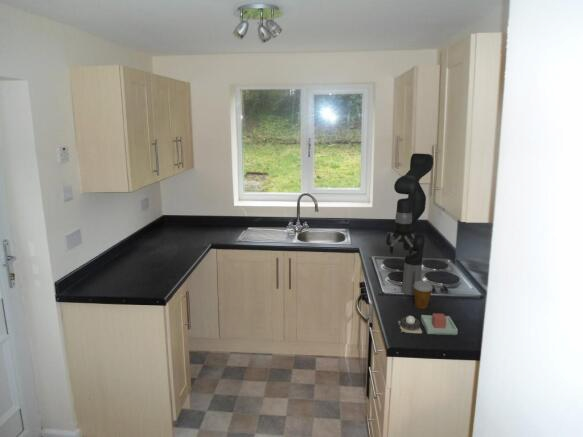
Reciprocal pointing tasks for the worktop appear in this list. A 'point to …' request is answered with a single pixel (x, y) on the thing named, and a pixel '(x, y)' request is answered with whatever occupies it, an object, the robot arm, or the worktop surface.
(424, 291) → the disposable coffee cup
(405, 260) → the robot arm
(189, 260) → the worktop surface
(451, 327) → the tray
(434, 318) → the cube
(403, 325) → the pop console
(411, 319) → the dome
